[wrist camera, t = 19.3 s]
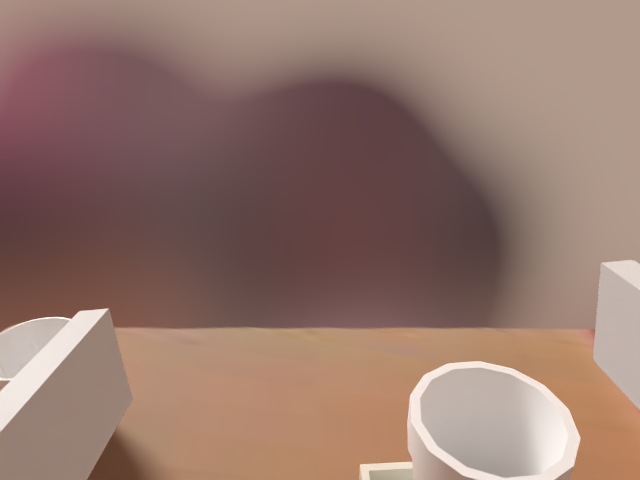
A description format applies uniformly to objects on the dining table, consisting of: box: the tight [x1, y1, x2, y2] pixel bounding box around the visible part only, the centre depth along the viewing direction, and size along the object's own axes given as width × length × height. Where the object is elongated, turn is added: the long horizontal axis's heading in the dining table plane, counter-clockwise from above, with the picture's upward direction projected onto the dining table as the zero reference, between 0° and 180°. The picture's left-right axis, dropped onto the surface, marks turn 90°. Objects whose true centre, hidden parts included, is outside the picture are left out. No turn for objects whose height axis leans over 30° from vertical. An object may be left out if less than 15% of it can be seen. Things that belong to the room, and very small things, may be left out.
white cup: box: [0, 317, 71, 391], centre depth 43 cm, size 8×8×10 cm
